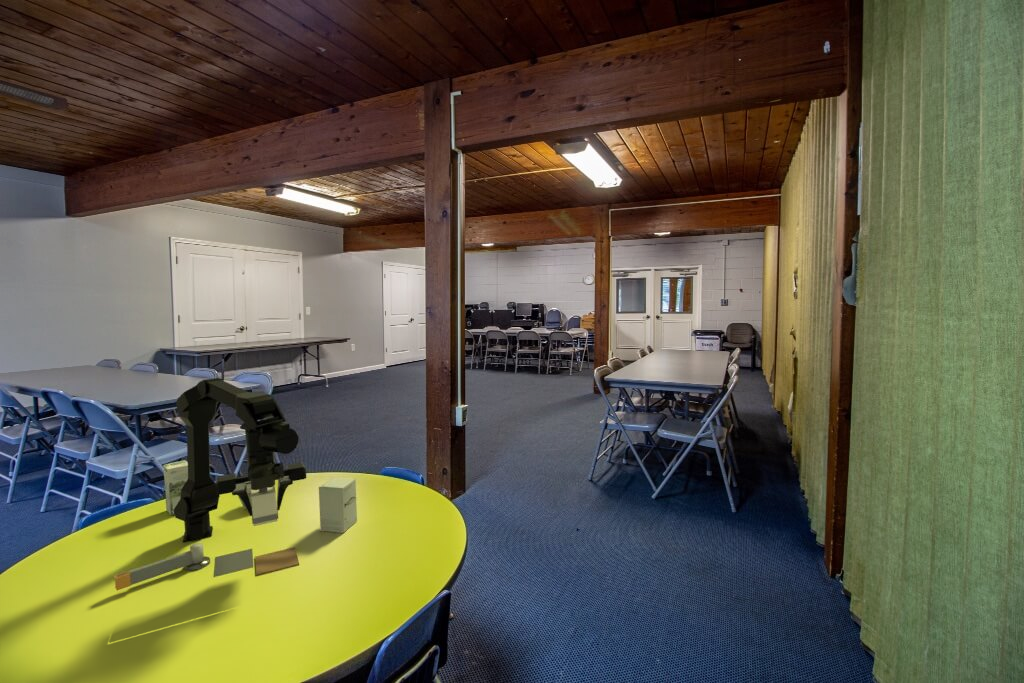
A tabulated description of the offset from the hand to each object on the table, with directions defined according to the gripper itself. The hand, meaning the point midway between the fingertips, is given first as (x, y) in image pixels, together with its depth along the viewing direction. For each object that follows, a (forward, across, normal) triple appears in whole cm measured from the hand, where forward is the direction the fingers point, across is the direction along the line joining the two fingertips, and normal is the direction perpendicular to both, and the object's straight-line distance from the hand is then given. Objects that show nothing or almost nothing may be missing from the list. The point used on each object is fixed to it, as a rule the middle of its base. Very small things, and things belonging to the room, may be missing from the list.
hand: (264, 512), depth 115 cm
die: (+12, -2, +38) cm, 40 cm away
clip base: (+12, -15, +7) cm, 21 cm away
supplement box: (+13, +18, +12) cm, 25 cm away
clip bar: (+11, -21, +5) cm, 25 cm away
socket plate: (+12, -7, +4) cm, 15 cm away
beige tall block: (+2, 0, 0) cm, 2 cm away
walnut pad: (+13, +2, 0) cm, 13 cm away
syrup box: (+12, -22, +47) cm, 54 cm away
